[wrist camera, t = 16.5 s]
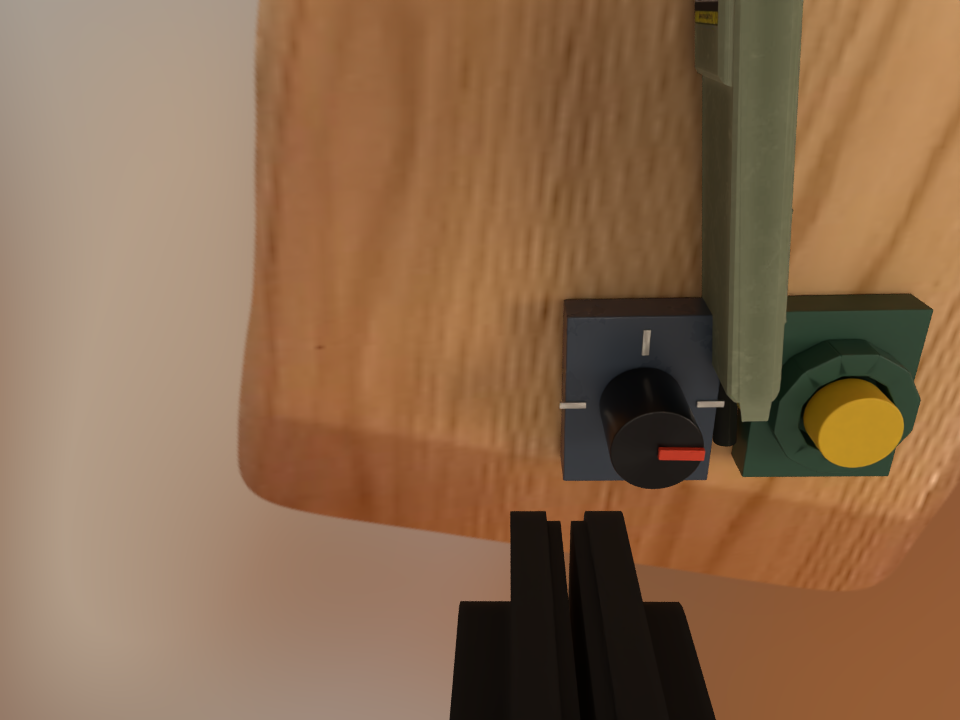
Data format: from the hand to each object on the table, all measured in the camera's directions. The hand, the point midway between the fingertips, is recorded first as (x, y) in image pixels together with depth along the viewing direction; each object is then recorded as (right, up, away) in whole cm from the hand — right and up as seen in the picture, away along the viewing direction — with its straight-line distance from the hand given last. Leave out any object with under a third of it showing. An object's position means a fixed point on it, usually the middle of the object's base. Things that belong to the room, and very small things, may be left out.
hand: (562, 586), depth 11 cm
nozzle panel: (+7, +2, +29) cm, 30 cm away
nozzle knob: (+7, +1, +27) cm, 28 cm away
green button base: (+17, +2, +28) cm, 33 cm away
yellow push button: (+17, +1, +25) cm, 30 cm away
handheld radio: (+11, +11, +25) cm, 29 cm away
